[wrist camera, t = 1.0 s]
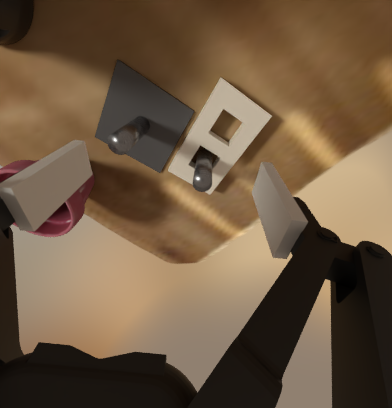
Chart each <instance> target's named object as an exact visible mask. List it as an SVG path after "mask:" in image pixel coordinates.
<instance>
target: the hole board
mask: <svg viewBox="0 0 392 408" xmlns="http://www.w3.org/2000/svg"><path fill="white" fill-rule="evenodd" d="M223 109H224V110H226V111H227V112H229V113H230V114H232V115H233V116H234V117H236V118H237V119H239V120H240V121H241V122H243V123H242V124H241V125H240V127H239V128H238V130H237V131H236V132H235V134H234V135H233V137H232V138H231V139H230V141H229V142H227V141H225V140H224V139H222V138H221V137H219V136H218V135H216V134H215V133H213V132H212V131H210V129H211V128H212V126H213V125H214V123H215V121H216V120H217V118H218V117H219V115H220V113H221V112H222V110H223ZM271 117H272V116H271V115H270V114H269V113H268V112H266V111H265V110H264V109H262V108H261V107H260V106H258V105H257V104H256V103H254V102H253V101H252V100H250V99H249V98H248V97H246V96H245V95H244V94H242V93H241V92H240V91H238V90H237V89H236V88H235V87H233V86H232V85H231V84H229V83H228V82H227V81H225V80H224V79H223V78H221V77H220V79H219V81H218V83H217V84H216V86H215V88H214V90H213V91H212V93H211V95H210V97H209V98H208V100H207V102H206V103H205V105H204V107H203V109H202V110H201V112H200V114H199V116H198V117H197V119H196V121H195V123H194V124H193V126H192V128H191V130H190V131H189V133H188V135H187V137H186V138H185V140H184V142H183V144H182V145H181V147H180V149H179V151H178V152H177V154H176V156H175V157H174V159H173V161H172V163H171V164H170V166H169V169H168V171H169V172H171V173H173V174H174V175H176V176H178V177H180V178H182V179H183V180H185V181H187V182H189V183H190V184H192V185H193V177H194V171H195V165H196V164H195V163H194V162H192V161H191V159H192V158H193V156H194V155H195V153H196V151H197V150H198V148H199V147H200V145H201V146H203V147H204V148H206V149H207V150H209V151H211V152H212V153H214V154H215V155H217V156H218V158H217V159H216V160H215V162H214V163H213V165H212V186H211V188H210V189H209V190H208V191H205V192H206V193H208V194H211V193H212V192H213V190H214V189H215V188H216V187H217V185H218V184H219V183H220V182H221V180H222V179H223V178H224V176H225V175H226V174H227V173H228V171H229V170H230V169H231V168H232V166H233V165H234V164H235V162H236V161H237V160H238V159H239V157H240V156H241V155H242V154H243V152H244V151H245V150H246V149H247V147H248V146H249V145H250V143H251V142H252V141H253V140H254V138H255V137H256V136H257V135H258V133H259V132H260V131H261V129H262V128H263V127H264V126H265V124H266V123H267V122H268V121H269V119H270V118H271Z"/></svg>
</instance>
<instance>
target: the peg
mask: <svg viewBox="0 0 392 408" xmlns="http://www.w3.org/2000/svg"><path fill="white" fill-rule="evenodd" d="M149 129H150V123H149V121H148V120H147V119H146V118H145V117H143V116H138V117H136V118H135V119H133V120H132V121H130V122H129V123H127V124H126V125H124V126H123V127H121V128H120V129H118V130H117V131H115V132H113V133H112V134H111V135H109V137H108V139H107V143H108V146H109V148H110V149H111V150H112V151H113V152H114V153H116V154H119V155H123V154H126V153H127V152H128V151H129V150H130V149H131V148H132V147H133V146H134V145H135V144H136V143H137V142H138V141H139V140H140V139H141V138H142V137H143V136H144V135H145V134H146V133H147V132H148V131H149Z"/></svg>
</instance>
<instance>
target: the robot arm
mask: <svg viewBox="0 0 392 408" xmlns="http://www.w3.org/2000/svg"><path fill="white" fill-rule="evenodd" d="M32 17H33V0H0V44H11V43H14V42H17V41H19V40H20V39H21V38H23V37H24V35H25V34H26V33H27V31H28V29H29V27H30V25H31V21H32ZM92 175H93V174H92V170H91V166H90V161H89V157H88V153H87V149H86V144H85V141H80V140H73V141H71V142H70V143H68V144H66V145H65V146H63V147H61V148H59V149H58V150H56V151H54V152H53V153H51V154H49V155H48V156H46V157H44V158H42V159H41V160H39V161H37V162H36V163H34V164H32V165H31V166H29V167H27V168H25V169H24V170H21V171H19V172H17V173H15V174H14V175H13V176H10V177H9V178H7V180H3V181H2V182H0V408H275V407H276V404H277V402H278V399H279V397H280V394H281V390H282V377H283V374H284V372H285V369H286V367H287V365H288V363H289V360H290V358H291V356H292V353H293V351H294V348H295V347H296V344H297V342H298V340H299V338H300V335H301V332H302V331H303V328H304V326H305V324H306V321H307V319H308V317H309V315H310V312H311V310H312V308H313V305H314V303H315V301H316V299H317V296H318V294H319V292H320V289H321V287H322V285H323V283H324V280H325V279H328V280H330V281H331V349H332V408H392V255H391V254H390V253H389V252H388V251H387V250H386V249H385V248H383V247H382V246H380V245H378V244H375V243H373V242H369V241H362V242H360V243H359V244H358V245H357V246H356V247H354V246H351V245H349V244H345V243H342V242H341V241H340V239H339V237H338V236H337V235H336V234H335V233H334V232H332V231H331V230H329V229H326V228H323V227H321V226H320V225H319V223H318V221H317V220H316V219H315V217H314V216H313V214H311V211H310V210H309V209H308V207H307V205H306V204H305V202H303V201H302V200H301V199H300V198H298V197H293V196H292V195H291V193H290V192H289V190H288V188H287V187H286V185H285V183H284V182H283V180H282V179H281V177H280V175H279V174H278V172H277V170H276V169H275V167H274V166H273V164H272V163H268V162H261V165H260V168H259V172H258V175H257V178H256V181H255V184H254V187H253V190H252V195H253V198H254V201H255V204H256V207H257V210H258V213H259V216H260V220H261V223H262V225H263V229H264V231H265V235H266V238H267V241H268V244H269V247H270V250H271V253H272V256H273V258H283V259H287V257H288V256H289V254H290V252H291V253H292V255H293V256H292V258H291V259H290V261H289V262H288V264H287V265H286V267H285V268H284V270H283V271H282V273H281V274H280V275H279V277H278V279H277V280H276V281H275V283H274V284H273V286H272V287H271V289H270V290H269V292H268V293H267V294H266V296H265V297H264V299H263V300H262V302H261V303H260V305H259V306H258V308H257V309H256V310H255V312H254V313H253V315H252V316H251V318H250V319H249V321H248V322H247V324H246V325H245V326H244V328H243V329H242V331H241V332H240V334H239V335H238V337H237V338H236V339H235V340H234V341H233V342H232V344H231V345H230V347H229V348H228V349H227V351H226V352H225V354H224V355H223V357H222V358H221V360H220V361H219V363H218V364H217V365H216V367H215V368H214V370H213V371H212V373H211V374H210V376H209V377H208V379H207V380H206V381H205V383H204V384H203V386H202V387H201V389H200V390H199V392H198V393H197V391H196V390H195V388H194V386H193V385H192V384H191V382H190V381H189V380H188V379H187V377H186V376H185V375H184V374H183V373H182V372H181V371H179V370H178V369H177V368H175V367H173V366H172V365H170V364H168V363H166V355H162V354H152V353H142V352H132V353H127V354H123V355H118V356H113V357H108V358H103V359H98V358H95V357H93V356H91V355H89V354H87V353H85V352H83V351H81V350H79V349H76V348H75V347H73V346H70V345H60V344H51V343H41V342H40V343H38V345H37V346H36V348H35V349H34V351H33V352H32V353H29V354H26V355H24V354H23V352H22V350H21V347H20V342H19V327H18V310H17V294H16V279H15V263H14V247H13V232H12V230H11V228H10V227H9V226H11V225H12V224H13V223H14V222H16V224H17V226H18V227H19V229H20V230H25V231H33V232H34V231H35V230H37V229H38V228H39V227H40V226H41V225H42V224H43V223H44V222H45V221H46V220H47V219H48V218H49V217H50V216H51V215H52V214H53V213H54V212H55V211H56V210H57V209H58V208H59V207H60V206H61V205H62V204H63V203H64V202H65V201H66V200H67V199H68V198H69V197H70V196H71V195H72V194H73V193H74V192H75V191H76V190H77V189H78V188H79V187H80V186H81V185H82V184H83V183H84V182H86V181H87V180H88V179H89V178H90V177H91V176H92Z"/></svg>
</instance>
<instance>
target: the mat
mask: <svg viewBox="0 0 392 408" xmlns="http://www.w3.org/2000/svg"><path fill="white" fill-rule="evenodd" d="M193 113H194V111H193V110H192V109H190V108H189V107H187V106H186V105H184V104H183V103H182V102H180V101H179V100H177V99H176V98H174V97H173V96H171V95H170V94H168V93H167V92H165V91H164V90H162V89H161V88H159V87H158V86H156V85H155V84H153V83H152V82H150V81H149V80H147V79H146V78H145V77H143V76H142V75H140V74H139V73H137V72H136V71H134V70H133V69H131V68H130V67H128V66H127V65H125V64H124V63H122V62H121V61H119V60H117V63H116V66H115V70H114V73H113V76H112V80H111V83H110V87H109V90H108V93H107V97H106V100H105V104H104V107H103V111H102V114H101V117H100V121H99V124H98V128H97V131H96V134H95V137H96V138H98V139H100V140H101V141H103V142H105V143H107V139H108V137H109V135H111V134H112V133H113V132H115V131H117V130H118V129H120V128H121V127H123V126H124V125H126V124H127V123H129V122H130V121H132V120H133V119H135V118H136V117H138V116H143V117H145V118H146V119H147V120H148V121H149V123H150V129H149V131H148V132H147V133H146V134H145V135H144V136H143V137H142V138H141V139H140V140H139V141H138V142H137V143H136V144H135V145H134V146H133V147H132V148H131V149H130V150H129V151H128V152H127V153H126V154H127V155H128V156H130V157H132V158H134V159H136V160H137V161H139V162H141V163H143V164H145V165H146V166H148V167H150V168H152V169H154V170H155V171H157V172H159V173H160V172H161V170H162V169H163V167H164V165H165V163H166V161H167V160H168V158H169V156H170V154H171V152H172V151H173V149H174V147H175V145H176V143H177V142H178V140H179V138H180V136H181V134H182V133H183V131H184V129H185V127H186V125H187V124H188V122H189V120H190V118H191V116H192V115H193ZM107 144H108V143H107Z"/></svg>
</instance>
